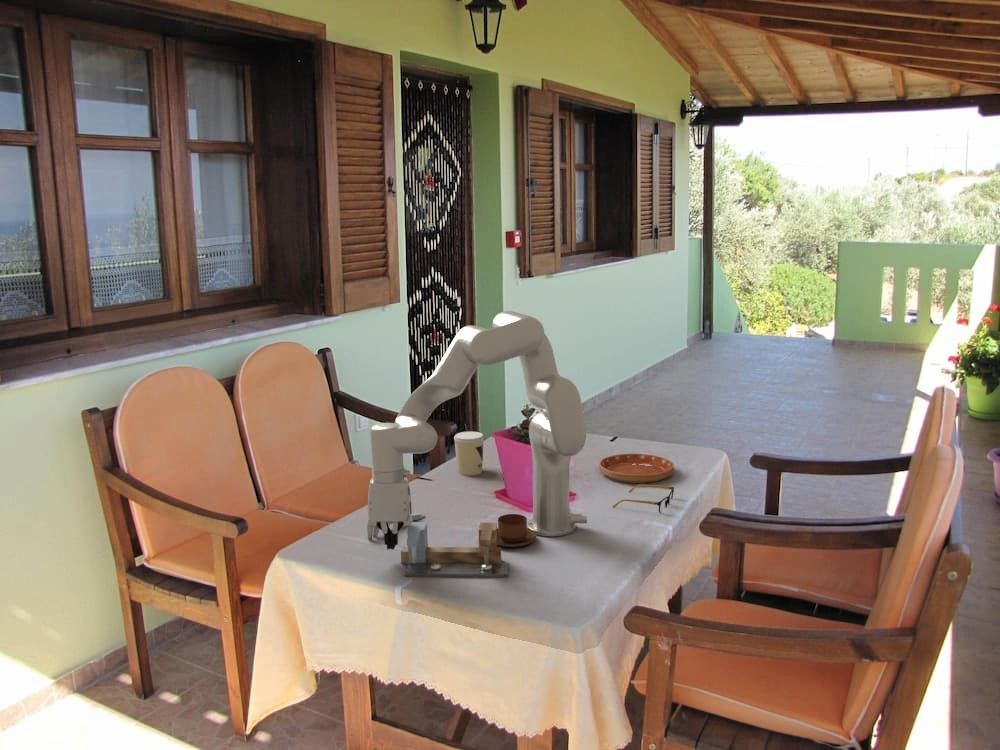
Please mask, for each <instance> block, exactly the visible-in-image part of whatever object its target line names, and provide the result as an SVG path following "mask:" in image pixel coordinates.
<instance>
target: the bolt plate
mask: <svg viewBox="0 0 1000 750" xmlns="http://www.w3.org/2000/svg"><path fill="white" fill-rule="evenodd" d="M509 565H510V564H509V563H501V564H485V563H408V564H407V566H406V569H405V571H404V574H403V575H404V577H406V578H408V577H410V578H414V577H417V578H418V577H420V578H422V577H424V578H431V577H432V578H508V575H509V567H510V566H509Z"/></svg>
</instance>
